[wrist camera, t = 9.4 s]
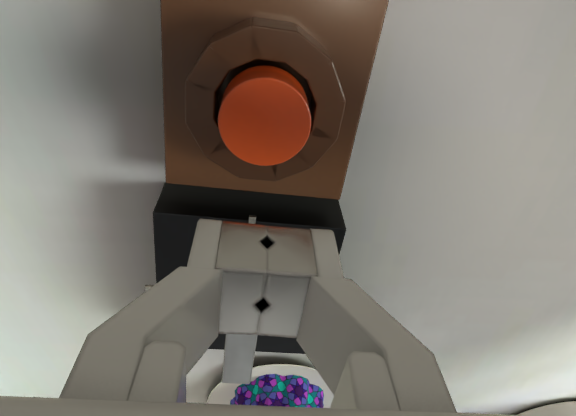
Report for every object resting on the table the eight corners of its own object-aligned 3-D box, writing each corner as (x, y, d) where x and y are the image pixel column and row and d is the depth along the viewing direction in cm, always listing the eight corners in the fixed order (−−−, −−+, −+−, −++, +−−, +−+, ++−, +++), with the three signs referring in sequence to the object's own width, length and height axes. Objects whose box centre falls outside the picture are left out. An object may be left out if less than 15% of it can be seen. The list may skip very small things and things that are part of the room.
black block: (315, 323, 30) (320, 360, 27) (160, 313, 29) (149, 351, 26) (349, 194, 24) (359, 226, 21) (153, 175, 23) (139, 207, 20)
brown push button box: (334, 179, 23) (345, 220, 20) (173, 163, 22) (157, 203, 19) (379, -18, 18) (405, -7, 15) (170, -51, 17) (146, -48, 14)
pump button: (300, 152, 18) (303, 170, 17) (219, 143, 18) (215, 161, 16) (314, 71, 16) (319, 84, 15) (224, 59, 16) (219, 71, 15)
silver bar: (252, 334, 26) (249, 388, 23) (226, 332, 26) (220, 387, 23) (264, 249, 22) (263, 300, 19) (234, 246, 22) (229, 298, 19)
